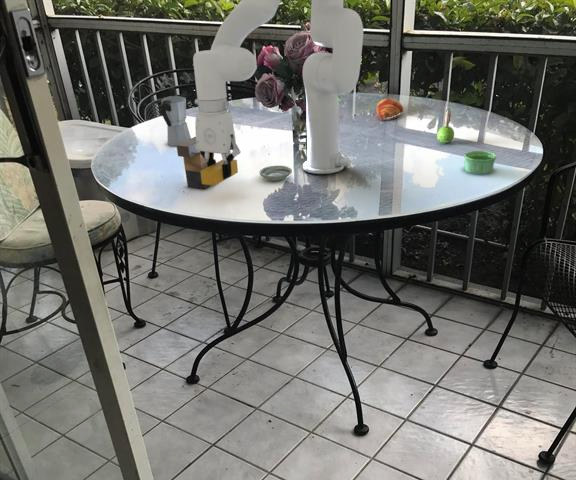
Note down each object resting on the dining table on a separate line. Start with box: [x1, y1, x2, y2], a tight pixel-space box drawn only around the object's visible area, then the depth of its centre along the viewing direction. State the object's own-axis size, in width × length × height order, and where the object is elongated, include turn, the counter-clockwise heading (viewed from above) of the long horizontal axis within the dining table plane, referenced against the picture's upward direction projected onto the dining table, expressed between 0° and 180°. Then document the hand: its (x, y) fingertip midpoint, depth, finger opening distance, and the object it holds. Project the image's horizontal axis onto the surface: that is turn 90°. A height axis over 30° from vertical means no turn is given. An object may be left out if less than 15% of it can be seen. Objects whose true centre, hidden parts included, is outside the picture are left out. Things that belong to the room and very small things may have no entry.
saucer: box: [258, 165, 293, 182], centre depth 181 cm, size 10×10×2 cm
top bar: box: [201, 159, 239, 187], centre depth 167 cm, size 12×4×4 cm, turn 152°
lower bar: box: [175, 136, 200, 158], centre depth 173 cm, size 13×4×3 cm, turn 152°
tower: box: [182, 153, 212, 190], centre depth 177 cm, size 6×6×10 cm
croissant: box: [375, 97, 404, 121], centre depth 233 cm, size 21×10×8 cm, turn 159°
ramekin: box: [463, 150, 497, 175], centre depth 179 cm, size 9×9×4 cm
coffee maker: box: [160, 87, 192, 148], centre depth 211 cm, size 15×9×18 cm, turn 161°
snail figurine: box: [436, 106, 455, 145], centre depth 199 cm, size 5×6×12 cm
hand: (220, 175), depth 168 cm, fingers closed on top bar, 4 cm apart
